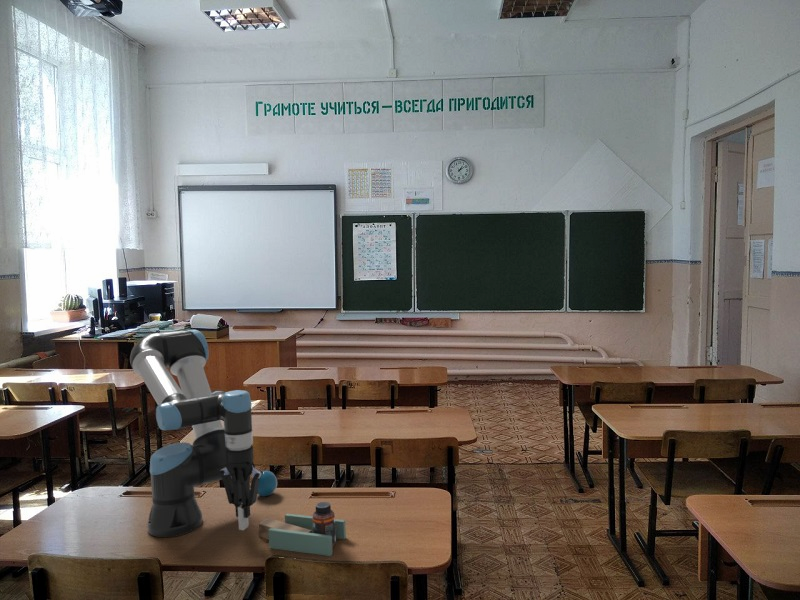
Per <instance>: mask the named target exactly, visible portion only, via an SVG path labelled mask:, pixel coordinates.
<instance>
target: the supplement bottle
mask: <svg viewBox="0 0 800 600" xmlns="http://www.w3.org/2000/svg"><path fill="white" fill-rule="evenodd" d="M312 516H313V533H315V534H323V535H331V536H332V548H333V547H334V546H335V545H336V543H337V541H336V540H337V539H336V535H335V519H336V518H335V512H334V511H333V510H332V508H331V503H330V502H328V501H319V502H318V503H316V504H315V511H314V512H313V514H312Z"/></svg>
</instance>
